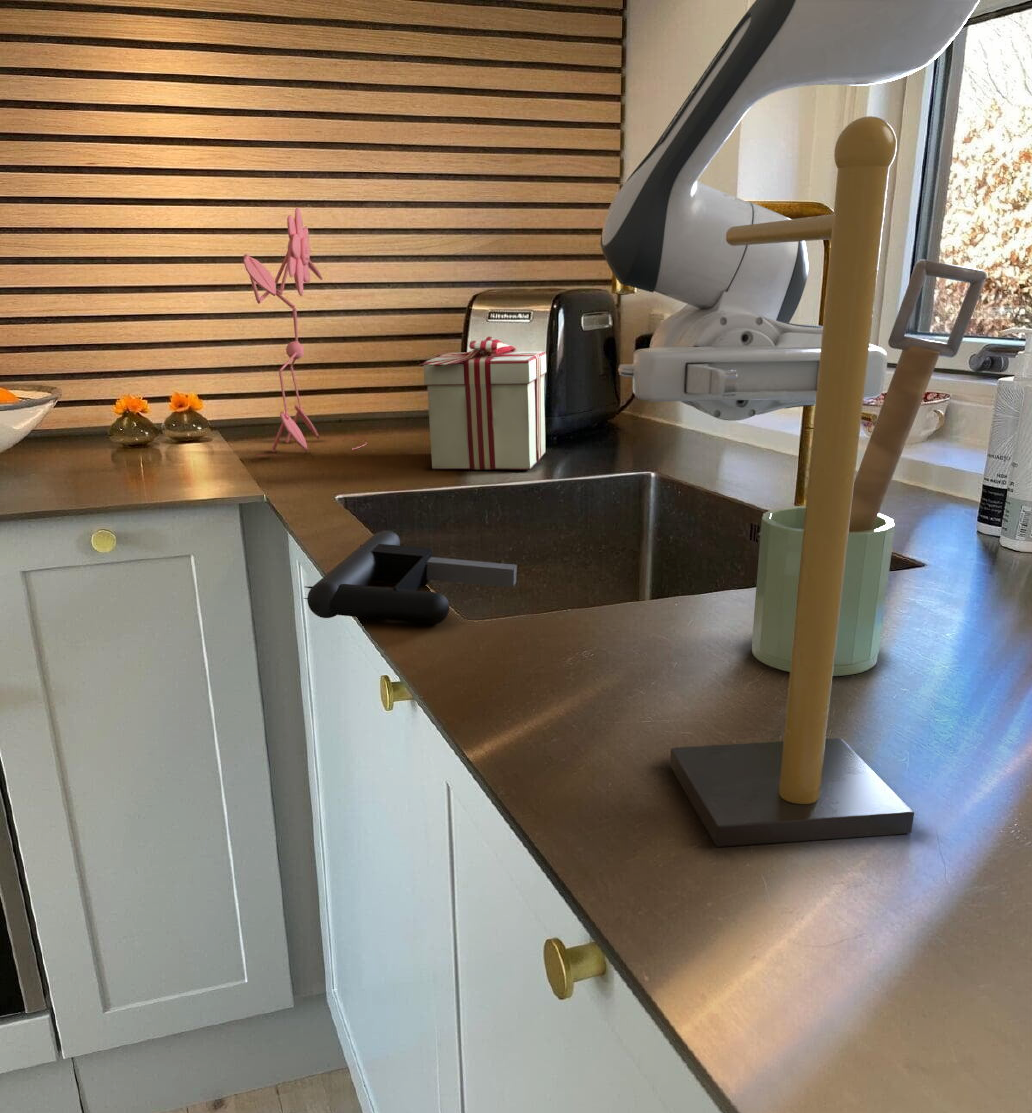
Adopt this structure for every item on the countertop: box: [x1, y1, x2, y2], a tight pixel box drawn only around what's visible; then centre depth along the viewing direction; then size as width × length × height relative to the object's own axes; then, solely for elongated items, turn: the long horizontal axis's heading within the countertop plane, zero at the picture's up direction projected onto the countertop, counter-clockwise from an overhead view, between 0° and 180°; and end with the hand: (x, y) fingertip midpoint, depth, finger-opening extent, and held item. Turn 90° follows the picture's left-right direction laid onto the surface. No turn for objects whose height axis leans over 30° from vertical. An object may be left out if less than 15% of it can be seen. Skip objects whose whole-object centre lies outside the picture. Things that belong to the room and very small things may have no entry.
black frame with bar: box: [303, 529, 518, 625], centre depth 91 cm, size 3×20×16 cm
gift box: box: [419, 336, 548, 471], centre depth 149 cm, size 17×18×17 cm
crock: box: [751, 505, 896, 677], centre depth 74 cm, size 9×9×10 cm
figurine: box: [242, 206, 368, 457], centre depth 161 cm, size 15×26×35 cm, turn 178°
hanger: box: [669, 115, 915, 848], centre depth 54 cm, size 10×19×32 cm, turn 7°
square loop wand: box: [849, 259, 988, 532], centre depth 69 cm, size 5×4×26 cm
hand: (789, 383), depth 77 cm, fingers open, 8 cm apart
